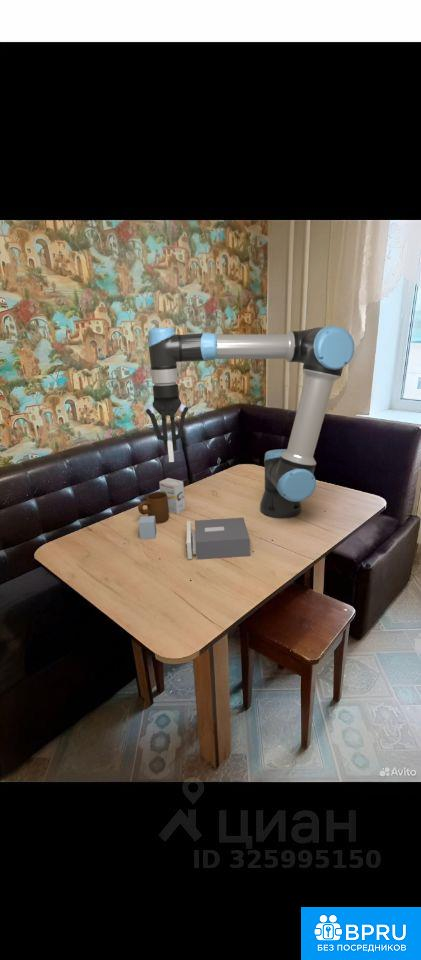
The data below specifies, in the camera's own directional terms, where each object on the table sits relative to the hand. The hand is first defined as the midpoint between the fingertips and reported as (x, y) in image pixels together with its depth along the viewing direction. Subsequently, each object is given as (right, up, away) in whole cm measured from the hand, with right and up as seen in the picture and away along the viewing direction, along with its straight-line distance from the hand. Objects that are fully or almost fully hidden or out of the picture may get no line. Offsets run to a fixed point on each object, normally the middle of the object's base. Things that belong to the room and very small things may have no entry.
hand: (171, 460), depth 127 cm
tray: (+13, -27, +1) cm, 30 cm away
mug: (-8, -21, +21) cm, 31 cm away
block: (-9, -25, +10) cm, 28 cm away
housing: (+16, -27, +1) cm, 31 cm away
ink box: (-2, -18, +30) cm, 35 cm away
